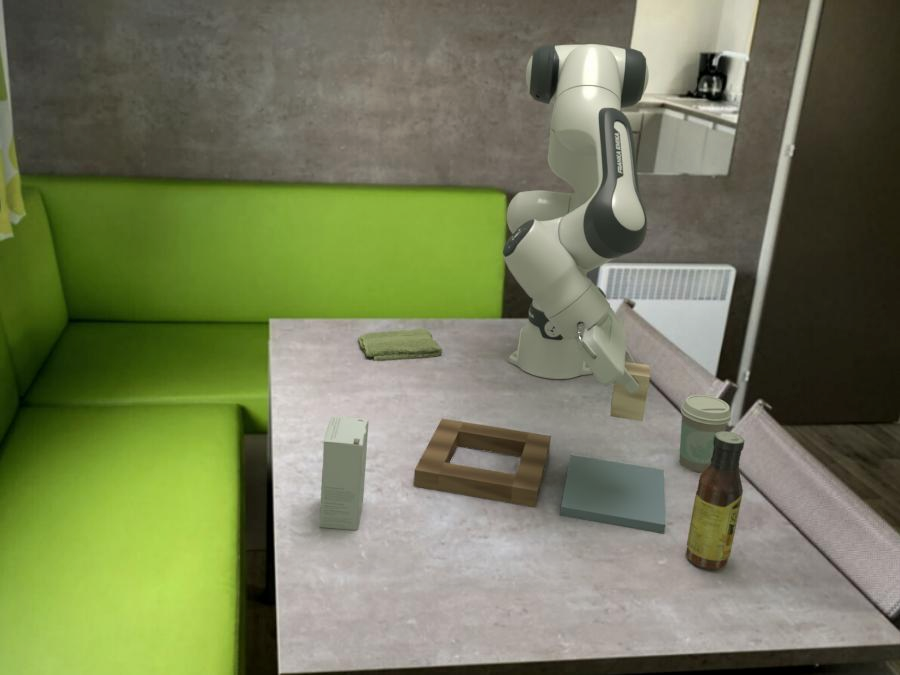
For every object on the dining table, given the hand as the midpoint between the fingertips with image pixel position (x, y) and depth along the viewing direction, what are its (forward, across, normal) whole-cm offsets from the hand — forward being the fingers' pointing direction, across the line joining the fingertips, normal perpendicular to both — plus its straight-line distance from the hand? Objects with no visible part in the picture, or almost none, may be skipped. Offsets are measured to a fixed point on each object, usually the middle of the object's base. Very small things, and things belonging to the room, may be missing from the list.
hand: (635, 381), depth 136 cm
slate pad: (+14, 0, +15) cm, 21 cm away
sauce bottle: (+24, -14, +5) cm, 28 cm away
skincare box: (-14, -20, +44) cm, 50 cm away
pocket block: (-1, +2, +30) cm, 31 cm away
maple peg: (+3, 0, +4) cm, 5 cm away
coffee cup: (+24, +16, +5) cm, 29 cm away
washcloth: (-21, +50, +51) cm, 74 cm away
